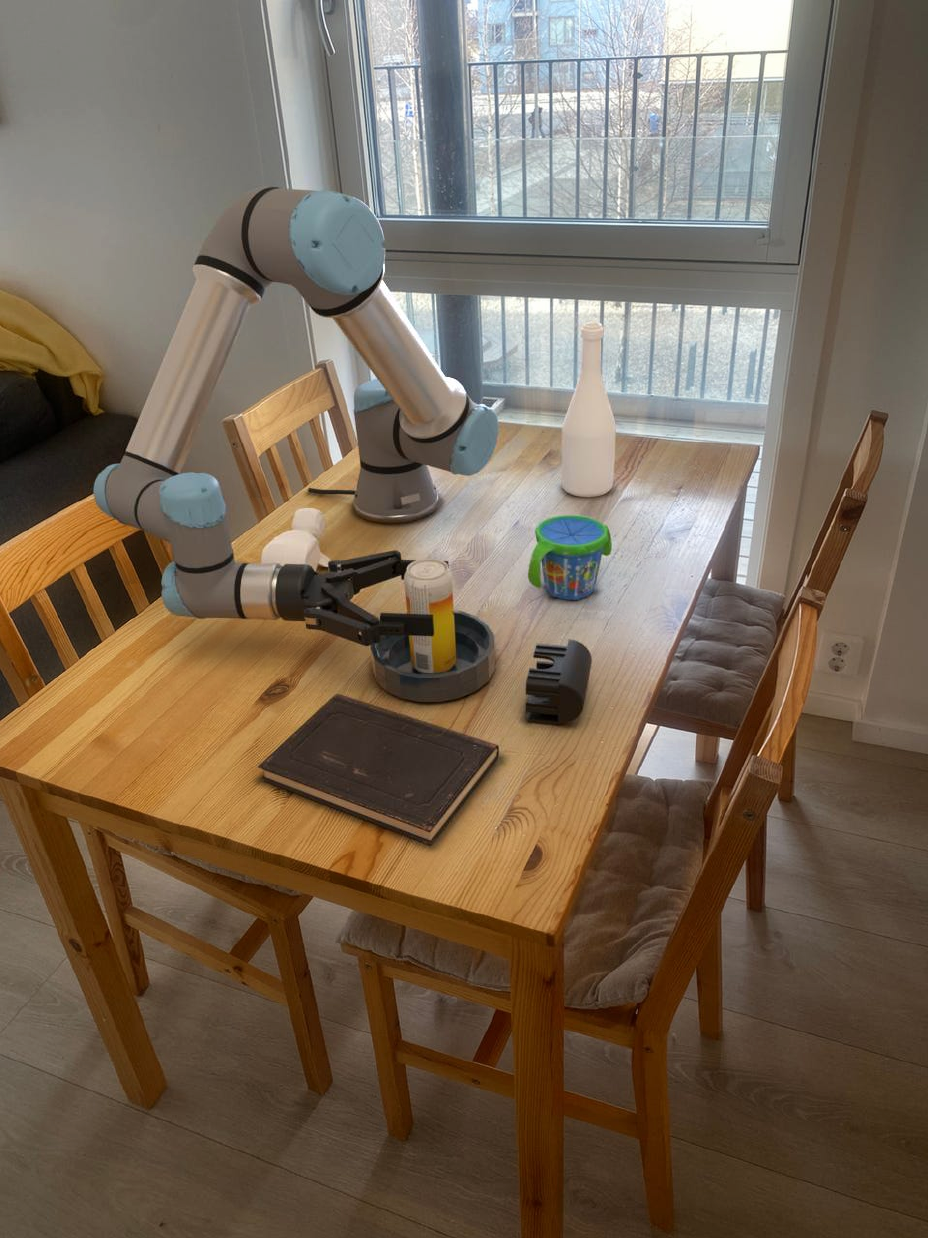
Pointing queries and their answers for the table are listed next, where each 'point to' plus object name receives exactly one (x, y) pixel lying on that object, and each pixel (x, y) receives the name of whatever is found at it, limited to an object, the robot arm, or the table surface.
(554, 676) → the end cap
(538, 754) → the table surface
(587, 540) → the snack cup
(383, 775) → the hardcover book
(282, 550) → the white animal figurine
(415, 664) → the beer can
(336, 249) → the robot arm
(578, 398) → the wine bottle
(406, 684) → the bowl
